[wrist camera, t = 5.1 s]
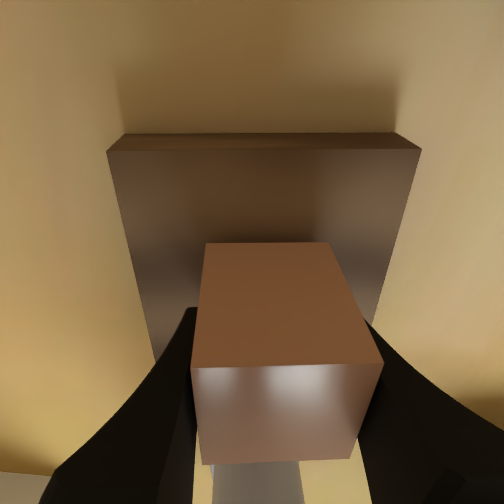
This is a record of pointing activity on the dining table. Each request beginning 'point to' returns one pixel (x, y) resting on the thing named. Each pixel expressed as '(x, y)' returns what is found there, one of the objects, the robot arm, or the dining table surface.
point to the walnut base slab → (256, 206)
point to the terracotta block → (279, 355)
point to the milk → (22, 488)
